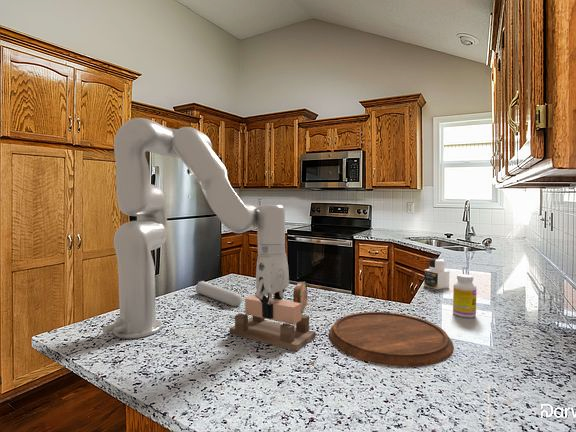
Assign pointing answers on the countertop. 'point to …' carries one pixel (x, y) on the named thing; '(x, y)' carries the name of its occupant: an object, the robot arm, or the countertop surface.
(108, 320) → the countertop surface
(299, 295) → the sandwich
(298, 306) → the clay strip
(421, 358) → the cutting board
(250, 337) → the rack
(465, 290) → the supplement bottle
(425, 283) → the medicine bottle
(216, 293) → the tube
